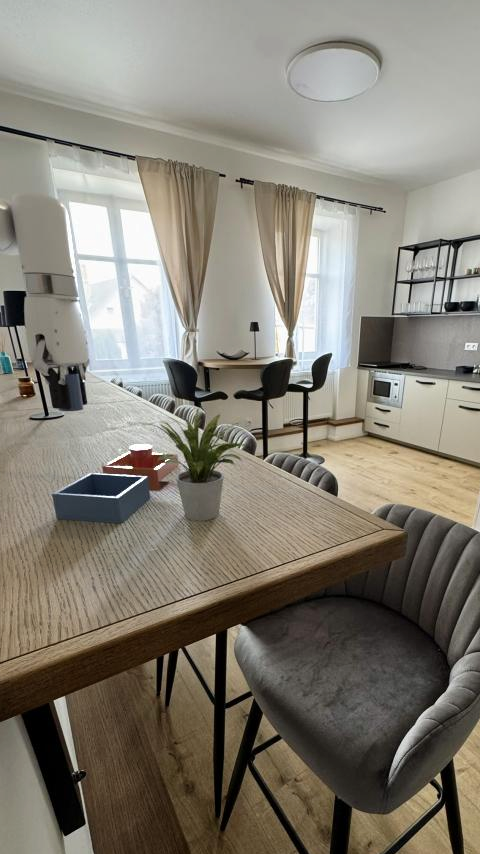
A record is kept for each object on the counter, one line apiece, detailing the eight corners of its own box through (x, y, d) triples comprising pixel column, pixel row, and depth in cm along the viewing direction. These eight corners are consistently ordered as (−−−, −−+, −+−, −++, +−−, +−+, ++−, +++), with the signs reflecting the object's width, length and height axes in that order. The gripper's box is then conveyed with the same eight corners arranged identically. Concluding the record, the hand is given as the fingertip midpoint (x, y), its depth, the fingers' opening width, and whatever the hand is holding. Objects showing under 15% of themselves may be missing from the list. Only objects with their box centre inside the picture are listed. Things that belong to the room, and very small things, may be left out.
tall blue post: (53, 410, 71) (47, 374, 68) (67, 407, 74) (61, 372, 72) (75, 411, 70) (69, 375, 68) (88, 408, 74) (83, 373, 72)
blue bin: (56, 518, 61) (51, 493, 60) (93, 495, 71) (90, 472, 69) (121, 523, 60) (118, 498, 59) (150, 498, 70) (148, 476, 68)
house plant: (161, 546, 54) (149, 422, 48) (137, 509, 65) (125, 405, 59) (258, 524, 61) (257, 413, 55) (221, 494, 72) (217, 399, 66)
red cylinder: (129, 480, 77) (125, 449, 74) (138, 474, 80) (135, 443, 78) (149, 481, 76) (146, 450, 74) (158, 475, 80) (155, 444, 78)
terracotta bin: (105, 487, 74) (101, 466, 73) (130, 470, 84) (128, 451, 82) (159, 490, 73) (157, 469, 72) (179, 473, 83) (177, 454, 81)
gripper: (62, 294, 73) (77, 399, 80) (-10, 282, 58) (17, 413, 65) (101, 295, 73) (114, 400, 79) (40, 283, 57) (62, 415, 64)
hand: (70, 405), depth 72 cm, fingers closed on tall blue post, 4 cm apart
